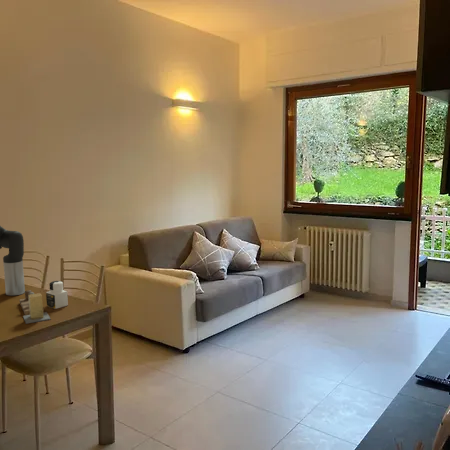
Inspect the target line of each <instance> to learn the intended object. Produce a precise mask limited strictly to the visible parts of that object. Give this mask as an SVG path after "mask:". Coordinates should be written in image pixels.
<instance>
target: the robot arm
mask: <svg viewBox="0 0 450 450" xmlns="http://www.w3.org/2000/svg"><path fill="white" fill-rule="evenodd" d="M24 244H25V243H24V236H23V234H22V233H21V232H20V231H16V230H8V229H6V228H4V227H3V226H1V225H0V250H1V249H3V248H4V249H8V254H7V255H4V256H3V257H2V259H3V261H2V262H3V272H4V286H5V295H6V296H19V295H23V294H25V291H26V288H25V274H24V261H23V258H24V254H25V248H24V247H25V245H24Z"/></svg>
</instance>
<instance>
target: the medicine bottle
mask: <svg viewBox="0 0 450 450" xmlns="http://www.w3.org/2000/svg"><path fill="white" fill-rule="evenodd" d="M48 285H49V291H46V292H45V297H46V307H48V308H50V309H51V308H52V309H53V310H57V309H59V308H65V307H67V306H69V301H68V300H69V299H68V296H69V295H68V291H67V290H64V282H63V281H61V280H53V281H51V282H50V283H48Z"/></svg>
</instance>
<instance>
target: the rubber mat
mask: <svg viewBox="0 0 450 450" xmlns="http://www.w3.org/2000/svg"><path fill="white" fill-rule="evenodd" d="M22 317H23V320H24V322H25V324H32V323H40V322H46V321H51V317H50V315H49V314H48V311H44V312H43V317H44V318H39V319H33V320H31V318H30V315H23V316H22Z"/></svg>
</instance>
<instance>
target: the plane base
mask: <svg viewBox="0 0 450 450" xmlns="http://www.w3.org/2000/svg"><path fill="white" fill-rule="evenodd" d="M31 294H35V292H33V291H32V290H31V289H29V290H25V293H24V296H25V297H24V298H20V299H19V305H20V306H21V309H22V311H23V314H24V316H26V315H30V312H29V298H28V295H31ZM44 312H45V311H44V307H43V313H44Z"/></svg>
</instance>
